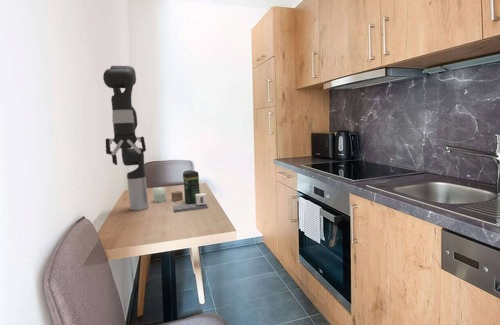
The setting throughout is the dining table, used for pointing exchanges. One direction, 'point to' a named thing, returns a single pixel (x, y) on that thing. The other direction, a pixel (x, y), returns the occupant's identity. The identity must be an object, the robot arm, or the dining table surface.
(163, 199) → the pale green rounded block
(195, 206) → the counting rail
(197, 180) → the coffee jar
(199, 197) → the counting knob
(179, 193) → the walnut block
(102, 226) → the dining table surface
